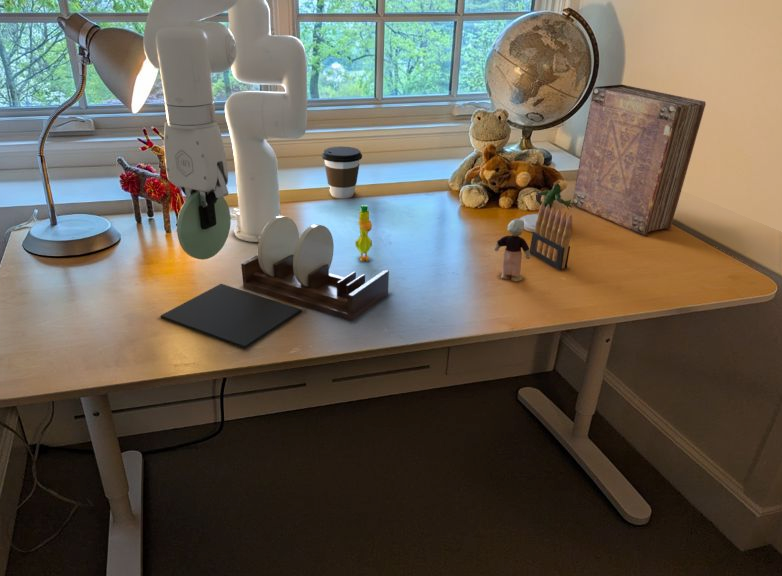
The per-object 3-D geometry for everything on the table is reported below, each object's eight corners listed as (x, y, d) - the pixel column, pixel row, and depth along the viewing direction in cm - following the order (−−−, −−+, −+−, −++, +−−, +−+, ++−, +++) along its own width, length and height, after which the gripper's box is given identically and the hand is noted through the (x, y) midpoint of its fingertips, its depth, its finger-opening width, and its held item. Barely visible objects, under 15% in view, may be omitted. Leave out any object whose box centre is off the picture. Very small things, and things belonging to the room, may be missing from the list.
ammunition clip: (566, 269, 138) (577, 215, 131) (560, 270, 137) (570, 216, 131) (535, 251, 146) (543, 199, 139) (528, 252, 145) (537, 200, 139)
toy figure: (375, 265, 138) (377, 211, 131) (359, 266, 137) (360, 212, 131) (368, 253, 143) (369, 201, 137) (353, 254, 143) (353, 202, 136)
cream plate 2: (294, 295, 122) (291, 235, 116) (330, 273, 131) (329, 216, 124) (298, 296, 122) (295, 236, 115) (334, 274, 130) (333, 217, 124)
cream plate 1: (259, 284, 126) (254, 226, 119) (296, 263, 134) (294, 208, 128) (263, 285, 125) (259, 227, 119) (300, 264, 134) (298, 209, 128)
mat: (160, 318, 117) (160, 315, 116) (221, 286, 128) (221, 283, 128) (245, 349, 108) (244, 346, 108) (301, 311, 119) (301, 309, 119)
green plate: (182, 268, 110) (171, 199, 103) (229, 245, 119) (222, 181, 112) (186, 269, 109) (176, 200, 103) (233, 247, 118) (227, 182, 112)
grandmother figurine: (528, 276, 134) (537, 218, 127) (526, 283, 131) (535, 224, 124) (492, 271, 136) (499, 213, 130) (488, 278, 133) (496, 219, 126)
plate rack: (243, 287, 128) (240, 263, 125) (283, 265, 137) (282, 242, 135) (352, 321, 117) (352, 296, 114) (388, 295, 126) (389, 270, 123)
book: (671, 230, 158) (707, 102, 142) (644, 236, 155) (678, 105, 139) (596, 200, 177) (621, 83, 161) (571, 205, 174) (593, 86, 158)
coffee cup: (332, 203, 172) (332, 158, 166) (316, 191, 180) (315, 148, 174) (368, 197, 176) (369, 153, 170) (351, 187, 185) (351, 144, 178)
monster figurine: (577, 228, 159) (586, 187, 153) (544, 237, 153) (551, 195, 148) (541, 214, 167) (548, 175, 162) (508, 222, 161) (514, 182, 156)
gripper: (138, 112, 102) (157, 223, 112) (210, 125, 95) (223, 242, 105) (173, 105, 107) (188, 211, 117) (244, 116, 101) (253, 228, 110)
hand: (205, 225), depth 111 cm, fingers closed on green plate, 1 cm apart
